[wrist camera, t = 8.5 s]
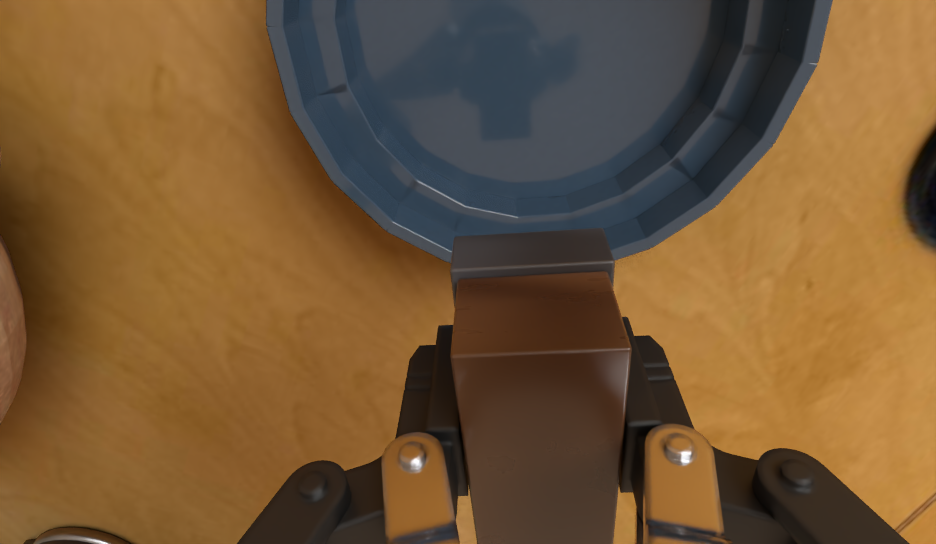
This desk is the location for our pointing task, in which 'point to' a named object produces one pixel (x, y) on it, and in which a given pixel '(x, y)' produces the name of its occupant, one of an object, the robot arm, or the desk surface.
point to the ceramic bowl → (10, 330)
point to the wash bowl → (542, 108)
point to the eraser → (540, 384)
